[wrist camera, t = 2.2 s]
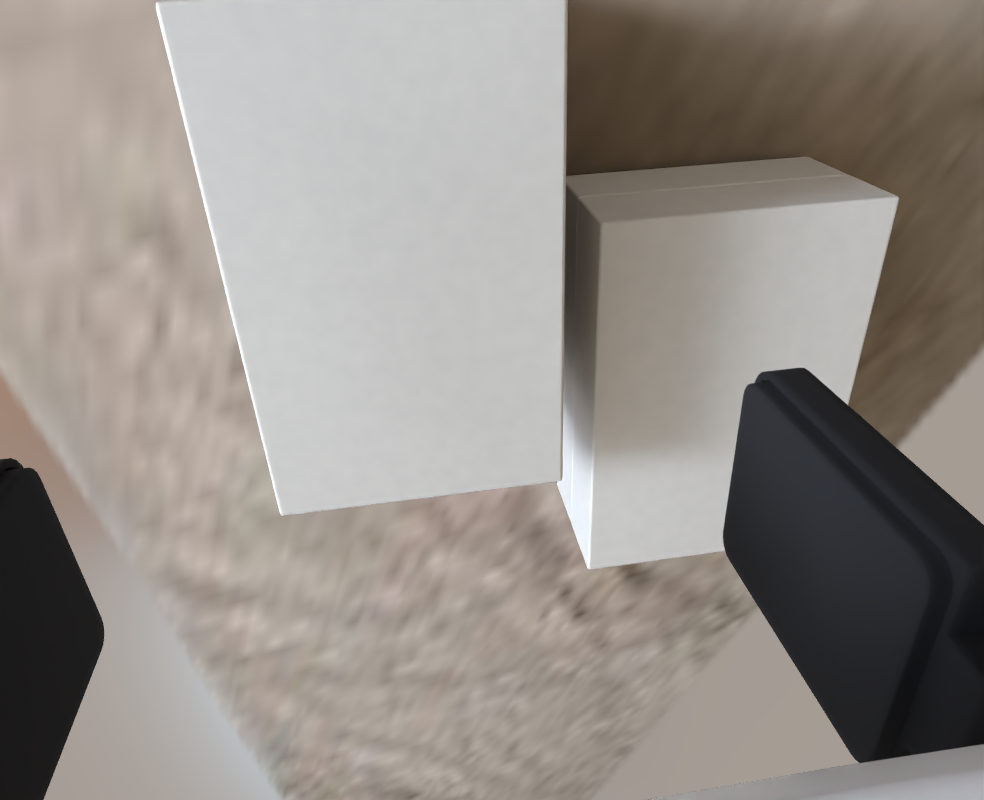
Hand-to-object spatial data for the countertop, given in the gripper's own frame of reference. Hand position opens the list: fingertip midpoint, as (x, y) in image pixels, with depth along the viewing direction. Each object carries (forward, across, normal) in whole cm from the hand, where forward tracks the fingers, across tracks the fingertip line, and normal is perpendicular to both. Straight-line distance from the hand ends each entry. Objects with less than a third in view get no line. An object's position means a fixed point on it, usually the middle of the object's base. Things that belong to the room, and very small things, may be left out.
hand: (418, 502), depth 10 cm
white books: (+13, -9, +4) cm, 16 cm away
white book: (+9, 0, 0) cm, 9 cm away
